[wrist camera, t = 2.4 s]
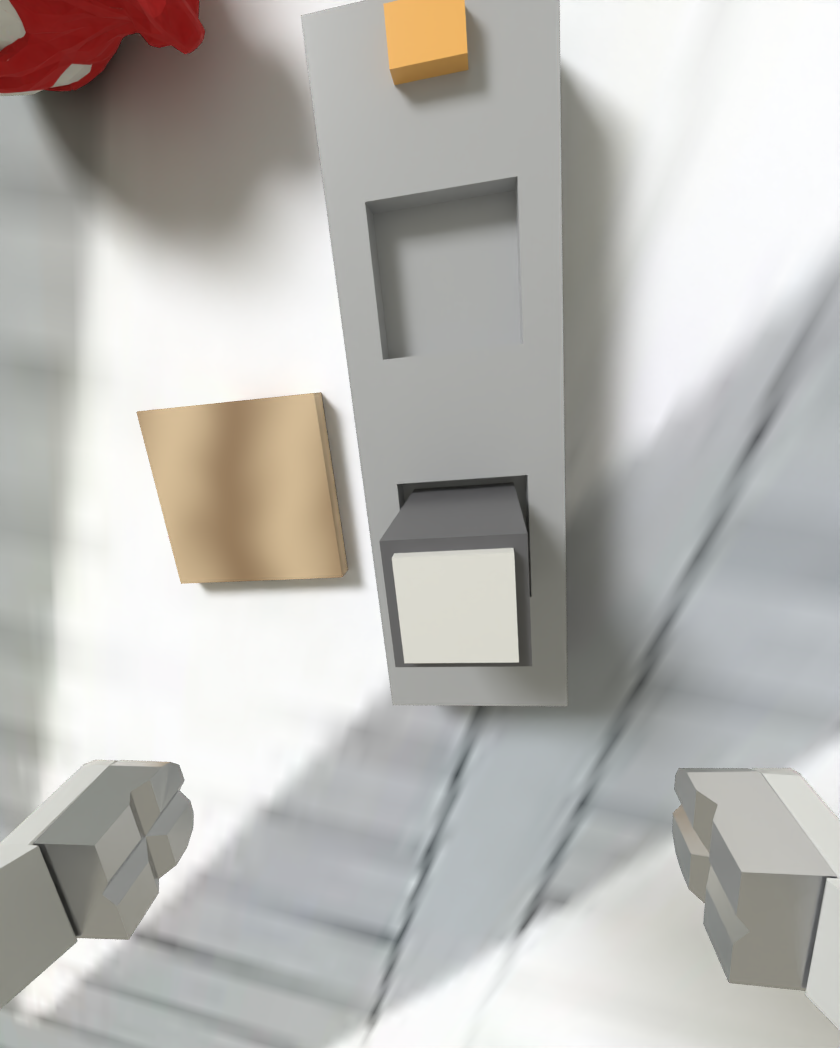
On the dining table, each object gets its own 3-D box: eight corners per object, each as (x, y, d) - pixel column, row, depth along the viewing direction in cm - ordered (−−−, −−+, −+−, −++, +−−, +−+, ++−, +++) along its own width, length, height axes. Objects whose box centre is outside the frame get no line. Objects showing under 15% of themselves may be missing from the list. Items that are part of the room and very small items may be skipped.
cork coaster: (321, 392, 22) (313, 393, 21) (347, 569, 24) (342, 577, 23) (150, 410, 23) (136, 411, 22) (192, 576, 26) (180, 583, 25)
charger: (513, 482, 19) (528, 537, 12) (517, 575, 21) (533, 674, 14) (414, 488, 20) (376, 545, 13) (423, 578, 21) (392, 675, 14)
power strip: (539, -183, 15) (560, -397, 11) (555, 659, 24) (570, 718, 20) (311, -117, 17) (251, -289, 12) (405, 660, 26) (389, 716, 21)
